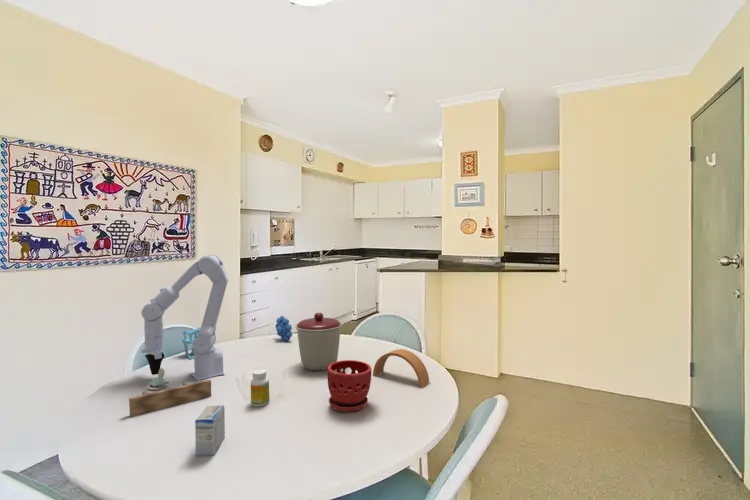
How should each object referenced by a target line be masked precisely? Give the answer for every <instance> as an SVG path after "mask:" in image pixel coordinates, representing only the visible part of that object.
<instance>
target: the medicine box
mask: <svg viewBox="0 0 750 500" xmlns="http://www.w3.org/2000/svg"><path fill="white" fill-rule="evenodd" d="M225 414H226V413H225V405H224V404H223V405H222V404H221V405H219V404H218V405H216V404H215V405H206V407H204V409H203V411H202V412H201V413H200V414H199V416H198V417H197V418H196V419H195V420H194V423H195V424H194V425H195V426H194V429H195V432H194V433H195V434H194V436H195V456H196V457H205V456H206V457H207V456H215V455H216V453H217V451H218V450H219V448H220V447H221V444H222V443H223V441H224V439H225V436H226V435H225V433H226V427H225V424H226V423H225V420H226V419H225Z"/></svg>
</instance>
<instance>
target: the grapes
mask: <svg viewBox="0 0 750 500" xmlns="http://www.w3.org/2000/svg"><path fill="white" fill-rule="evenodd" d="M275 322H276V324H275V329H276V333H277V334H276V335H277V336H278V337H280V340H281V341H283V342H284V341H286V342H290V340H291V338H292V337H293V332H292V329H293V327H292V325H291V324H290V320H289V319H288V318H287V317H286V318H285V317H284V315H280V316H279V317H277V318H276V320H275Z"/></svg>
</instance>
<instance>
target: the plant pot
mask: <svg viewBox="0 0 750 500" xmlns="http://www.w3.org/2000/svg"><path fill="white" fill-rule="evenodd" d="M346 369H350V370H351V372H350V373H346ZM341 370H342V371H341ZM356 371H357V372H356ZM326 378H327V387H328V391H329V394H330V397H329V398H328V403H329V406H330V407H331V408H333V409H335V410H336V411H339V412H343V413H344V412H345V413H346V412H348V413H349V412H350V413H351V412H357V411H359V410H362V409H364V408H365V406H367V404H368V401H369V399H368V397H367V396H368V394H369V392H370V387H371V381H372V366H371V365H370V363H369V364H368V363H367V362H365V361H360V360H354V359H353V360H352V359H347V360H345V359H343V360H337V362H334V363H331V364H330V365H329V366H328V369H327V377H326Z"/></svg>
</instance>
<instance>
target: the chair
mask: <svg viewBox="0 0 750 500" xmlns="http://www.w3.org/2000/svg"><path fill="white" fill-rule="evenodd" d="M200 328H201V327H197V328H194V329H191V330H190V329H186V330H185V331H183V332H182V334H183V337H184V338H183V339H182V340H181V342H182V343H183V347H184V354H185V356H186V357H187V359H189V360H194V349H193V348H192V349H191V351H190V353H189V349H188V345H193V341H194V340H195V339H196V337H197V336H198V333H199V330H200ZM186 334H187V335H188V336H189V338H187V335H186ZM193 335H194V336H193ZM191 354H192V356H191Z"/></svg>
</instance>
